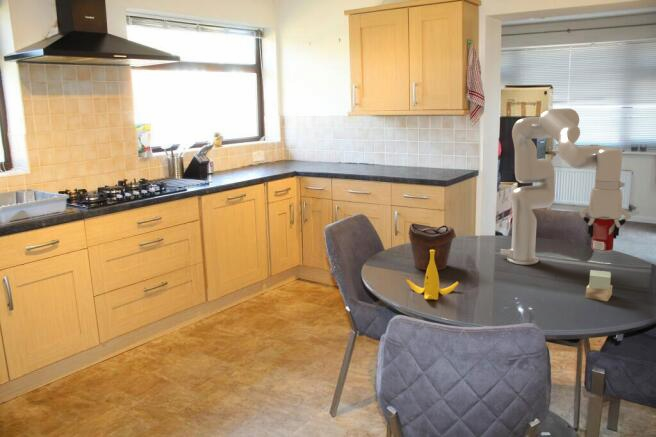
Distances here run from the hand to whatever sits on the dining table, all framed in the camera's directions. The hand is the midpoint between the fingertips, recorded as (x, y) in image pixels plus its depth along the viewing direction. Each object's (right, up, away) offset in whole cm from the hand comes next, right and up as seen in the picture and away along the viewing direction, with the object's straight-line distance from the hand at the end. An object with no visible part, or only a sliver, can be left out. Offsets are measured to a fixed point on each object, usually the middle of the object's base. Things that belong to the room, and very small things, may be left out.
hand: (602, 236), depth 201 cm
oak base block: (+1, -21, +5) cm, 22 cm away
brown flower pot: (-51, -14, +43) cm, 68 cm away
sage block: (+1, -17, +4) cm, 18 cm away
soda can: (0, -5, +1) cm, 5 cm away
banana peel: (-54, -21, +12) cm, 60 cm away
